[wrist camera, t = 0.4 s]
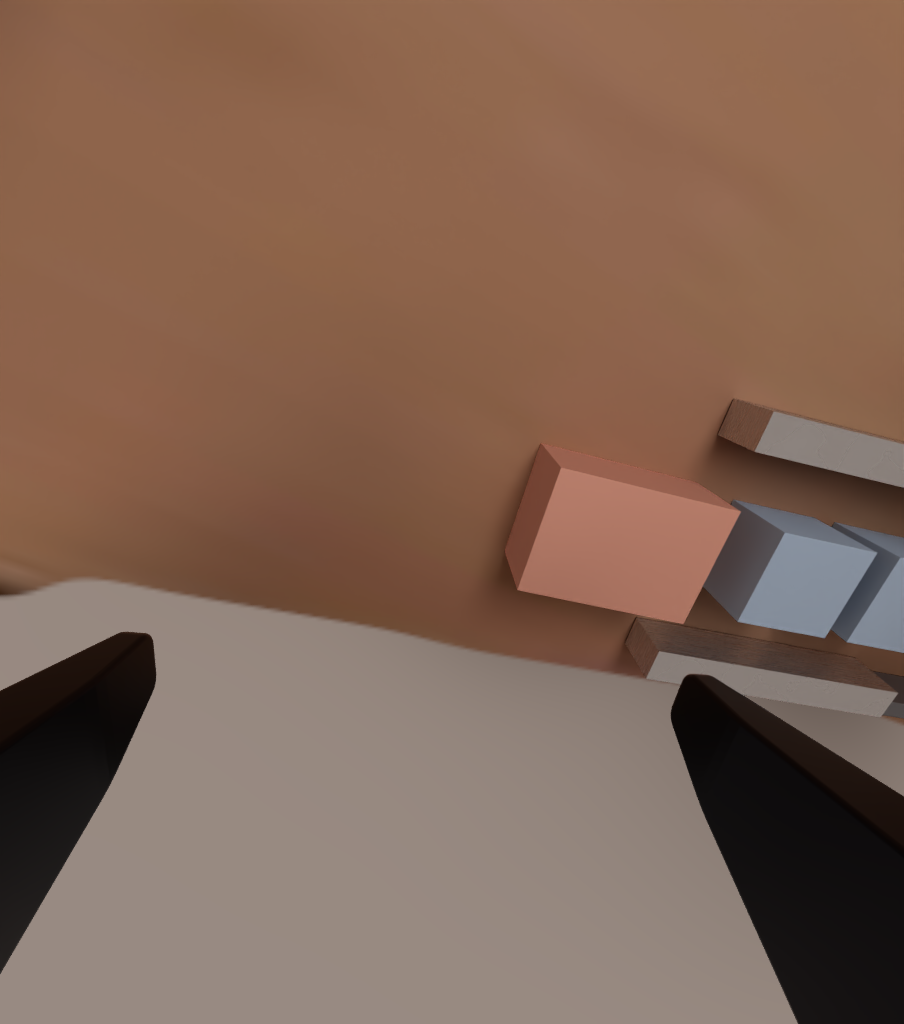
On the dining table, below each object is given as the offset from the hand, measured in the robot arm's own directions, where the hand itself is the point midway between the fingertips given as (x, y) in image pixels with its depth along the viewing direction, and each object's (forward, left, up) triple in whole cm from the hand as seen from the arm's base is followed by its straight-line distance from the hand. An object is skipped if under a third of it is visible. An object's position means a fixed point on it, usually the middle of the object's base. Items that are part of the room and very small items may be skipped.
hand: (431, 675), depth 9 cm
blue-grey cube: (-19, +8, -13) cm, 24 cm away
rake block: (-7, +4, -13) cm, 15 cm away
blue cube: (-14, +6, -13) cm, 20 cm away
